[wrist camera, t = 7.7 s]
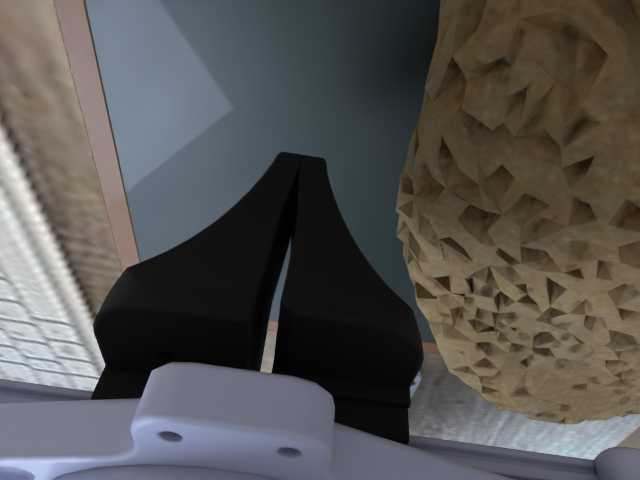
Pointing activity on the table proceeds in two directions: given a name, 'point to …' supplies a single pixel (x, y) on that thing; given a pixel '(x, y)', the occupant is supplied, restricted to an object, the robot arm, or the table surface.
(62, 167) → the table surface
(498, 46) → the sponge
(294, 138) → the chalkboard
